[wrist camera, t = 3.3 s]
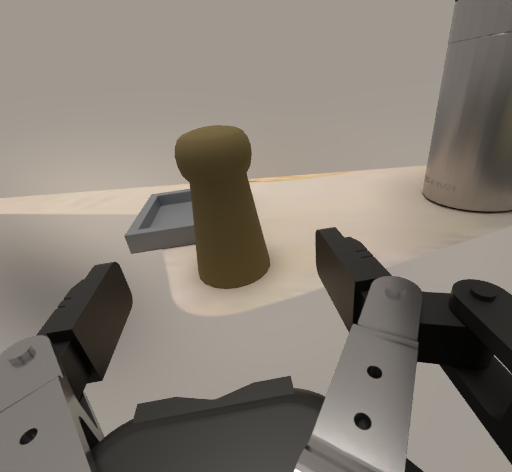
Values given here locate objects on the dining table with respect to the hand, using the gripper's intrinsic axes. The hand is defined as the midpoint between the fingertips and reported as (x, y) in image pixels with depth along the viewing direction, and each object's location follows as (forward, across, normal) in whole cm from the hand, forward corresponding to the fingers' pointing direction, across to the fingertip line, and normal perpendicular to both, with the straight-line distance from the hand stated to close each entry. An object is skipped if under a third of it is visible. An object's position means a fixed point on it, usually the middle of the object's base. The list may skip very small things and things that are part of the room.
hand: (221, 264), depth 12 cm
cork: (+10, 0, +7) cm, 12 cm away
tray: (+21, +4, +7) cm, 23 cm away
